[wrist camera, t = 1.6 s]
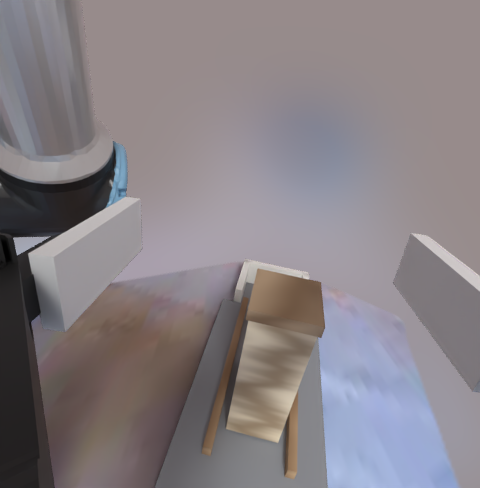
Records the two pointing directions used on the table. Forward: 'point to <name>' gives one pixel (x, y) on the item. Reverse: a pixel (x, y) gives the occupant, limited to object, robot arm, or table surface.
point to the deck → (238, 444)
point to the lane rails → (215, 416)
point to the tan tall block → (275, 352)
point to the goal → (249, 275)
